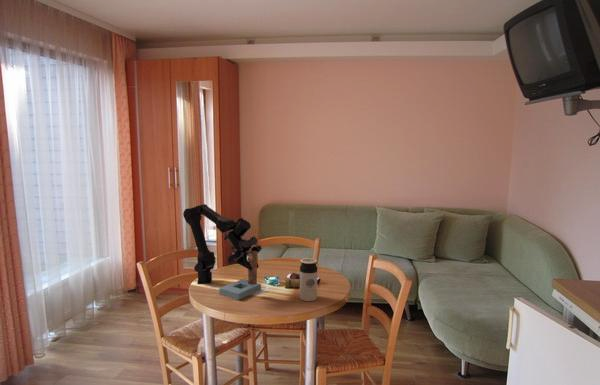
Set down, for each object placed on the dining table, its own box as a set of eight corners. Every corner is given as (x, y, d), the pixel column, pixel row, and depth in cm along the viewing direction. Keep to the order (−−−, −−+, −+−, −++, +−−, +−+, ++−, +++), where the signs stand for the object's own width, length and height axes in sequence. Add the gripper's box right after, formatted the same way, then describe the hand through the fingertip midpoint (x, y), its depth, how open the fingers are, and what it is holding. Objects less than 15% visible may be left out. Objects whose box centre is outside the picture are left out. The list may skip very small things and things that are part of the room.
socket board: (219, 294, 178) (219, 288, 177) (242, 284, 191) (242, 279, 191) (238, 300, 171) (238, 293, 171) (261, 289, 184) (261, 283, 184)
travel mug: (299, 294, 178) (300, 257, 176) (316, 295, 178) (317, 258, 176) (299, 301, 170) (299, 262, 168) (316, 302, 170) (317, 263, 168)
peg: (248, 284, 174) (248, 253, 172) (248, 281, 178) (248, 250, 176) (257, 284, 175) (257, 252, 173) (256, 281, 179) (256, 250, 177)
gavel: (284, 269, 207) (302, 269, 208) (284, 277, 207) (302, 277, 208) (285, 279, 186) (305, 279, 187) (285, 289, 186) (305, 289, 187)
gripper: (232, 235, 168) (250, 264, 163) (259, 228, 183) (277, 254, 179) (219, 249, 173) (237, 278, 168) (247, 241, 189) (263, 267, 184)
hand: (254, 268), depth 175 cm, fingers closed on peg, 4 cm apart
